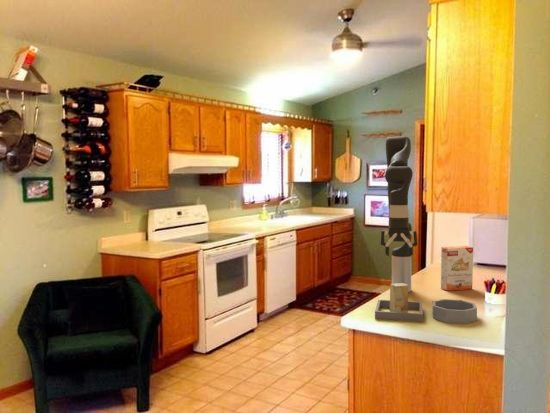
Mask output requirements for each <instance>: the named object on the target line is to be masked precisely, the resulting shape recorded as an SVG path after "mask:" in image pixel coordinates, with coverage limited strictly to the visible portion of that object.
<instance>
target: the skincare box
mask: <svg viewBox="0 0 550 413" xmlns="http://www.w3.org/2000/svg"><path fill="white" fill-rule="evenodd" d="M389 287H390V288H389V292H390V293H389V300H390V308H389V312H404V313H409V309H408V301H409V292H408V285H407V284H404V283H396V284H392V283H390V284H389Z"/></svg>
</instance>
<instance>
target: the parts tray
mask: <svg viewBox="0 0 550 413" xmlns="http://www.w3.org/2000/svg"><path fill="white" fill-rule="evenodd" d="M384 307H386V308H388V309H390V299H378V300H377V303H376V307H375V309H374V319H375V320H385V319H386V320H387V321H399V322H400V321H402V322H417V323H418V322H419V323H423V321H424V320H423V318H424V317H423V316H424V314H423V301H409V300H408V310H419V312H418V313H417V312H408V313H404V312H390V311H387V310H386V311H383V310H381V308H384Z"/></svg>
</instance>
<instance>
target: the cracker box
mask: <svg viewBox="0 0 550 413" xmlns="http://www.w3.org/2000/svg"><path fill="white" fill-rule="evenodd" d="M440 253H441V255H440V256H441V260H440V261H441V262H440V289H442V290H444V291H447V292H452V291H466V290H473V279H474V278H473V274H474V273H473V271H474V247H472V246H468V245H457V246H456V245H455V246H442V247H441V252H440Z"/></svg>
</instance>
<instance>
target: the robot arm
mask: <svg viewBox="0 0 550 413" xmlns="http://www.w3.org/2000/svg"><path fill="white" fill-rule="evenodd" d="M411 144H412V143H411V139H410V138H409V137H408V136H405V135H404V136H390V137H389V136H388V137H387V138H386V140H385V156H386V166H387V167H386V170H385V172H384V173H385V174H384V179H385V181H386V182H387V198H388V201H387V202H388V230H384V229H383V230H381V234H380V245H381V246H384V247H385V255H386V256H387V257H390V244H391V243H392V242H403V244H402V245H400V246H398V247H395V248H393V249H392V250H391V284H396V283H404V284H407V285H408V293H409V292H411V291H412V256H413V253H414V250H413V249H414V247H417V246H418V232H417V230H413V228H412V224H411V222H409V220H410V218H409V216H410V214H409V213H410V212H409V190H410V185H411V182H412V180H413V173H414V172H413V170H412V168H411V167H410V166H408V163H409V162H408V160H409V159H410V156H411V152H412V151H411V150H412V145H411ZM387 235H388V240H387V241H386V242H385V236H387ZM412 238H413V242H412Z"/></svg>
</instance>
